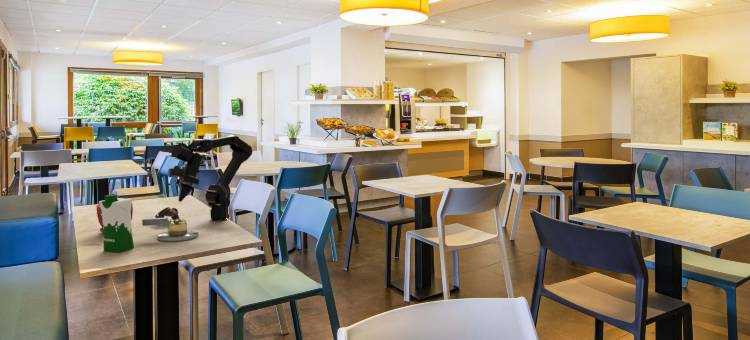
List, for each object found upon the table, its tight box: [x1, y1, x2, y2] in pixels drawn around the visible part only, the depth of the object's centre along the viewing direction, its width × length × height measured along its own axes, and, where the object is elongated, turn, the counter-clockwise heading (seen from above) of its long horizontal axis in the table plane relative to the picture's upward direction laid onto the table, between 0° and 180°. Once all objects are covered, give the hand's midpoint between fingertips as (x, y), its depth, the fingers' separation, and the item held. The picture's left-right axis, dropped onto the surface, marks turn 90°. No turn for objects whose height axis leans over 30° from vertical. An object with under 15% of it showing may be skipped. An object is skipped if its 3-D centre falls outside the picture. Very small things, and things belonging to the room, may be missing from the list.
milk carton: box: [98, 193, 135, 254], centre depth 189 cm, size 9×9×20 cm
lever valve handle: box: [141, 217, 188, 236], centre depth 206 cm, size 16×7×6 cm, turn 104°
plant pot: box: [96, 203, 134, 234], centre depth 215 cm, size 13×13×12 cm
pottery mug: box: [154, 206, 180, 220], centre depth 232 cm, size 12×10×8 cm
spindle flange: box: [156, 219, 199, 243], centre depth 207 cm, size 15×15×7 cm
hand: (179, 201), depth 220 cm, fingers closed
